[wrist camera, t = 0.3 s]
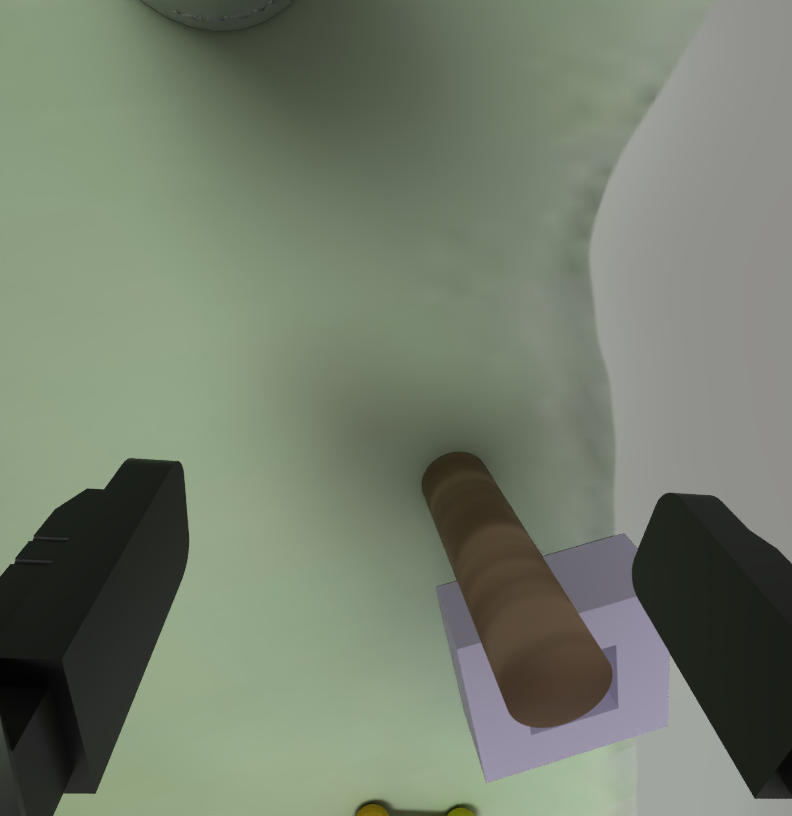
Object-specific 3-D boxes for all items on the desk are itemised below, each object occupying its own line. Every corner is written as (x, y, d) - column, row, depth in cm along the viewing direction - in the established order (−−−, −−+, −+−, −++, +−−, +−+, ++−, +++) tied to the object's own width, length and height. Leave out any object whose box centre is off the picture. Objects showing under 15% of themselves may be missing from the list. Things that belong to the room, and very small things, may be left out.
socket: (435, 587, 35) (456, 649, 30) (624, 533, 36) (671, 586, 31) (465, 714, 40) (486, 782, 36) (627, 665, 41) (667, 725, 37)
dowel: (416, 462, 31) (499, 667, 18) (482, 444, 31) (610, 634, 18) (428, 517, 32) (512, 740, 20) (491, 500, 33) (614, 708, 20)
